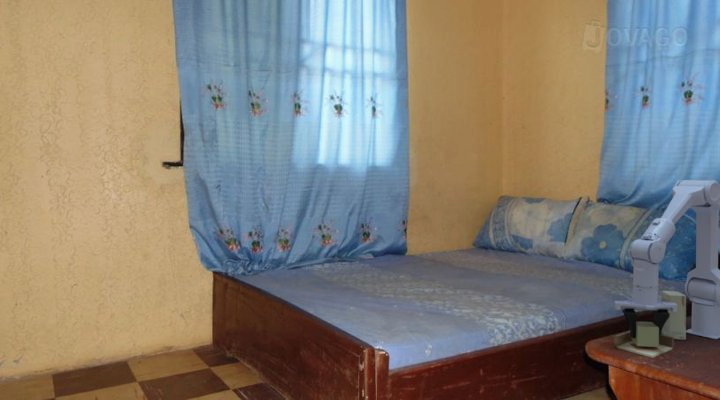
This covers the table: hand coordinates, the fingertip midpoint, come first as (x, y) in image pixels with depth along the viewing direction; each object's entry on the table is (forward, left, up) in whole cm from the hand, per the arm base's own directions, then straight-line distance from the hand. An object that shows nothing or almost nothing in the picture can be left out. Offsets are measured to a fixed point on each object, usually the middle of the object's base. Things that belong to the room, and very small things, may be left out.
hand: (644, 337), depth 140 cm
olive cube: (0, 0, -2) cm, 2 cm away
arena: (-1, 0, -3) cm, 3 cm away
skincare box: (-17, 0, -3) cm, 17 cm away
